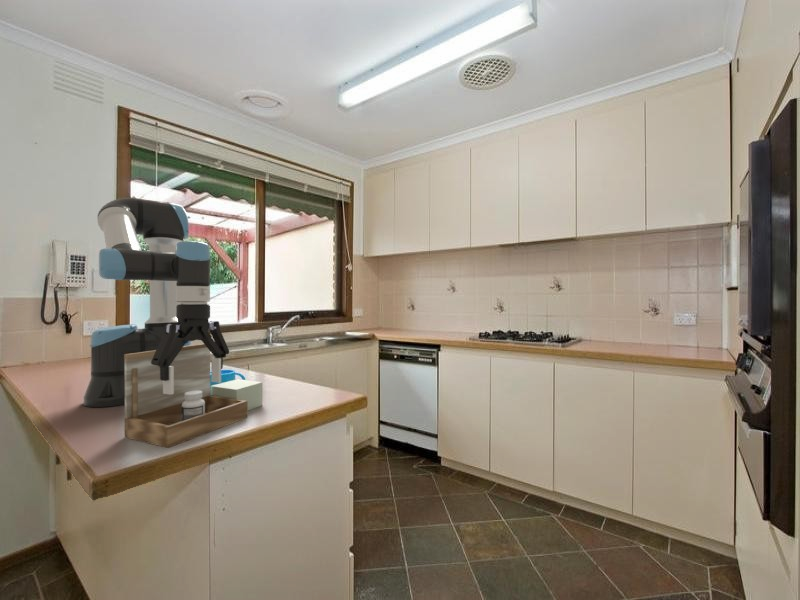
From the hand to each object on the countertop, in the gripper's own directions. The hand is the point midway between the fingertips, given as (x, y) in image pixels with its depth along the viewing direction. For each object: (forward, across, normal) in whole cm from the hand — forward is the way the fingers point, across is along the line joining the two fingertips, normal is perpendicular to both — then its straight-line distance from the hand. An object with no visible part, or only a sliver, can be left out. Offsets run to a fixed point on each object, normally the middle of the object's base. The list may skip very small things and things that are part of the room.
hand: (193, 387), depth 97 cm
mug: (+10, +26, +16) cm, 32 cm away
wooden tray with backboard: (+10, 0, +1) cm, 10 cm away
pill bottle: (+10, 0, 0) cm, 10 cm away
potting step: (+10, +17, +3) cm, 20 cm away
